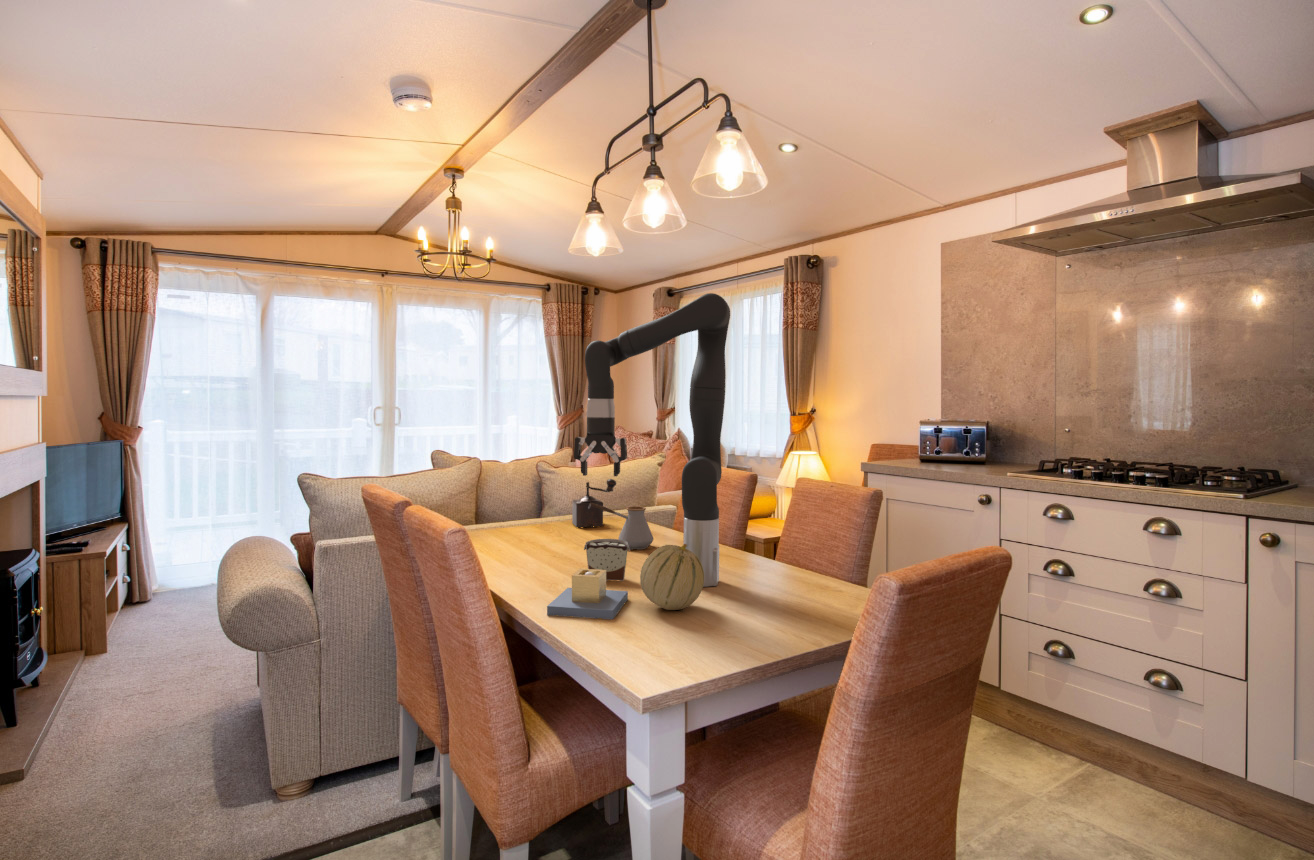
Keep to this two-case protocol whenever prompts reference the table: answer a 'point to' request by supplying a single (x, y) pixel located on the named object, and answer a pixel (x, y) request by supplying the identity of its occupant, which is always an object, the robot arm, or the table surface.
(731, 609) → the table surface
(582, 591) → the brass collar
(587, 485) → the manual coffee grinder
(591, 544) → the food container
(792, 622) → the table surface
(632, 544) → the coffee pot
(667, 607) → the cantaloupe
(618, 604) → the post stand
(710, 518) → the robot arm
